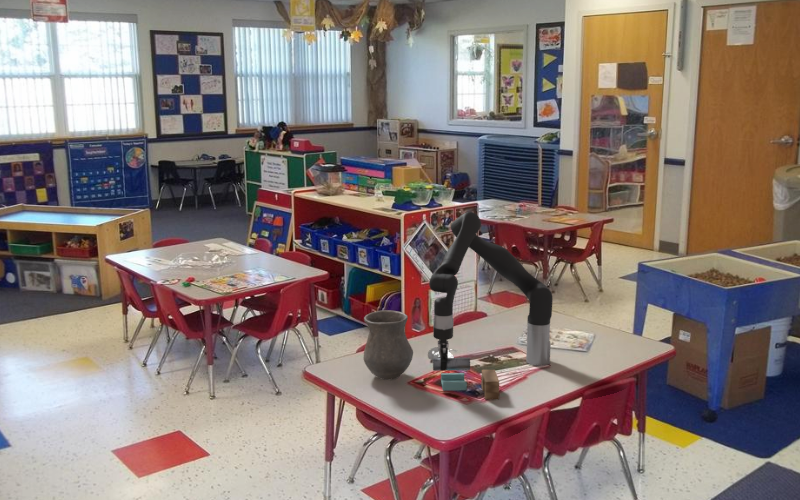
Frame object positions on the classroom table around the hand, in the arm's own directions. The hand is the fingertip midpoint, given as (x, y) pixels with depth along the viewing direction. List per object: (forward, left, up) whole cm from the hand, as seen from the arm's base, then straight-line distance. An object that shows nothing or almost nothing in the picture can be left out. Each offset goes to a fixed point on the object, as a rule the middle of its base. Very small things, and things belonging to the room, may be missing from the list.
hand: (442, 367), depth 297 cm
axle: (-3, 0, -1) cm, 3 cm away
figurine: (-2, -27, -8) cm, 28 cm away
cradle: (-4, 0, -7) cm, 8 cm away
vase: (+21, -10, -7) cm, 24 cm away
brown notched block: (-17, +8, -7) cm, 20 cm away
